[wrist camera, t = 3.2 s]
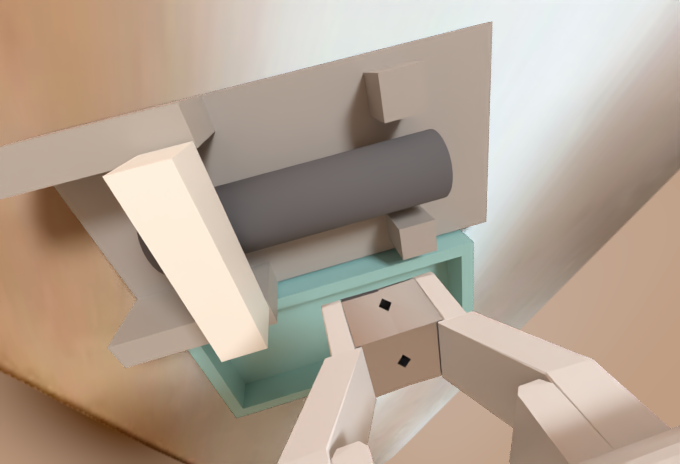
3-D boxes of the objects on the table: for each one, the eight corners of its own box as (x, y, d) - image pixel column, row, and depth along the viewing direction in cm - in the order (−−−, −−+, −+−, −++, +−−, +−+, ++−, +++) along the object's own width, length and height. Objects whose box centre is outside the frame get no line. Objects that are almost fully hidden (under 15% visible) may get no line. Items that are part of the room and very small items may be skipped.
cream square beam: (192, 140, 11) (171, 158, 9) (269, 308, 15) (267, 348, 13) (137, 155, 11) (102, 176, 9) (229, 319, 15) (221, 361, 13)
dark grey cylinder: (418, 123, 16) (451, 136, 13) (423, 184, 18) (453, 208, 15) (155, 194, 15) (124, 225, 12) (187, 250, 17) (167, 289, 14)
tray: (452, 223, 21) (473, 241, 18) (455, 320, 25) (472, 345, 23) (185, 299, 20) (173, 329, 18) (240, 386, 25) (236, 418, 22)
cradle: (477, 24, 15) (552, 7, 11) (475, 214, 21) (525, 250, 17) (38, 135, 14) (-61, 162, 10) (158, 305, 20) (125, 368, 15)
